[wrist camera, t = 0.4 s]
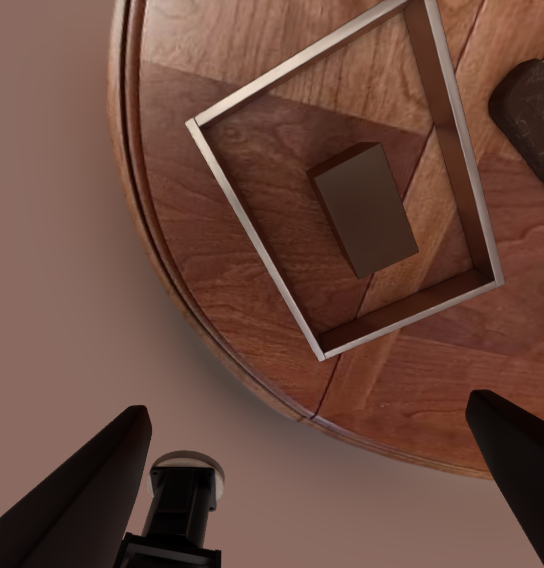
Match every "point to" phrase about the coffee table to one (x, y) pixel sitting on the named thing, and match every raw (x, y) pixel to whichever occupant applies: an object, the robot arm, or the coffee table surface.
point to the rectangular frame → (456, 150)
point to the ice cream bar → (523, 111)
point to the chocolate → (364, 208)
